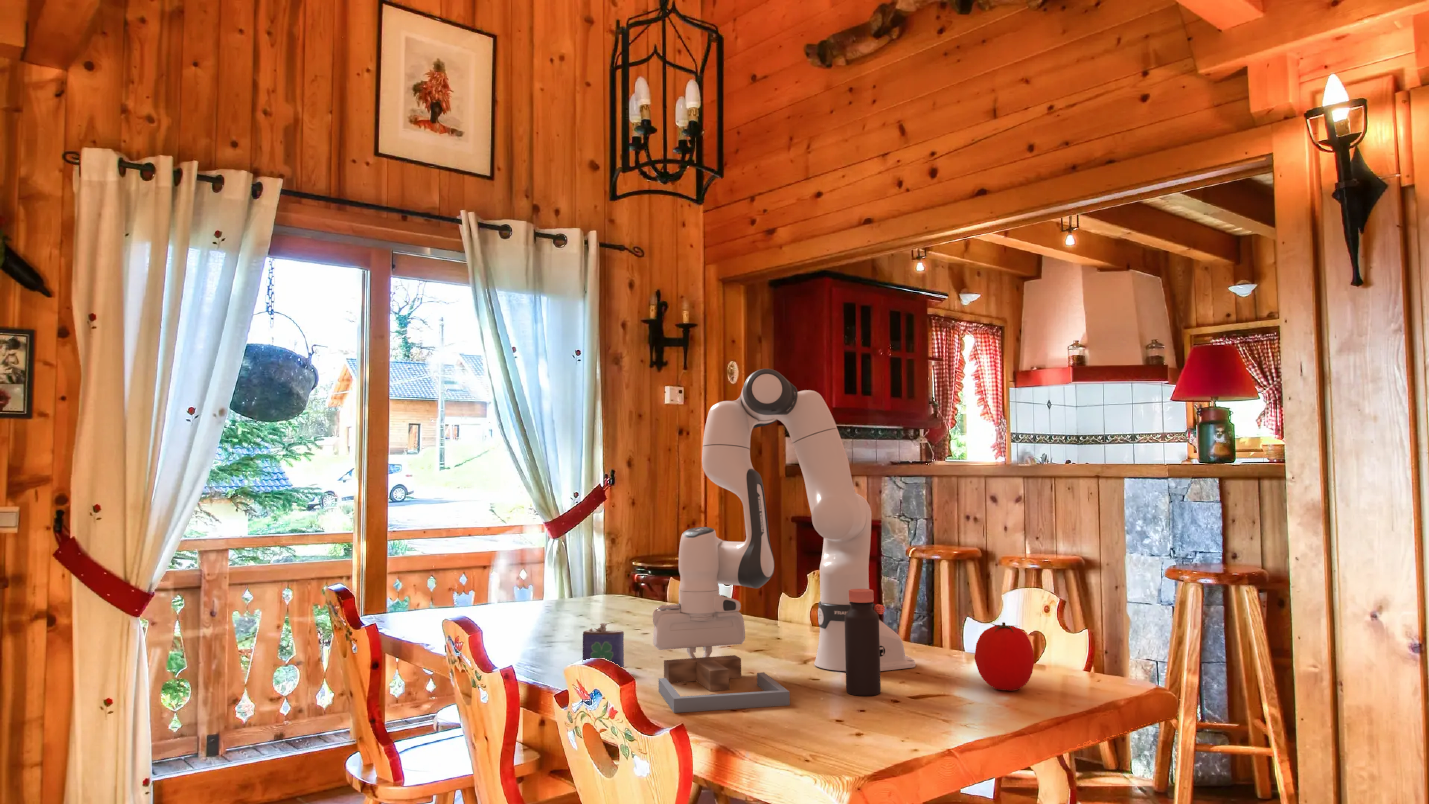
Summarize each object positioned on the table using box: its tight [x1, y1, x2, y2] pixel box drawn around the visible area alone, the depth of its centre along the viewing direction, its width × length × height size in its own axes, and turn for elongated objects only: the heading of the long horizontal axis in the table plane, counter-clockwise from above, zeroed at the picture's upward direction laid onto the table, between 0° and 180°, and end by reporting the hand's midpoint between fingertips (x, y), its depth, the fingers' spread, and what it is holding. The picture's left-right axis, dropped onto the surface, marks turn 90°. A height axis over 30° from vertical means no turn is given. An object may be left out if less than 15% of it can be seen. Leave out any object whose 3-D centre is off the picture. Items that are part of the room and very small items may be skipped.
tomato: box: [974, 621, 1035, 692], centre depth 187 cm, size 12×12×13 cm
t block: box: [663, 654, 742, 692], centre depth 195 cm, size 16×14×4 cm
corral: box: [658, 671, 791, 714], centre depth 182 cm, size 22×18×2 cm
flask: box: [582, 622, 625, 669], centre depth 208 cm, size 9×3×11 cm, turn 87°
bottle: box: [845, 588, 882, 697], centre depth 186 cm, size 7×7×20 cm
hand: (699, 667), depth 203 cm, fingers closed
